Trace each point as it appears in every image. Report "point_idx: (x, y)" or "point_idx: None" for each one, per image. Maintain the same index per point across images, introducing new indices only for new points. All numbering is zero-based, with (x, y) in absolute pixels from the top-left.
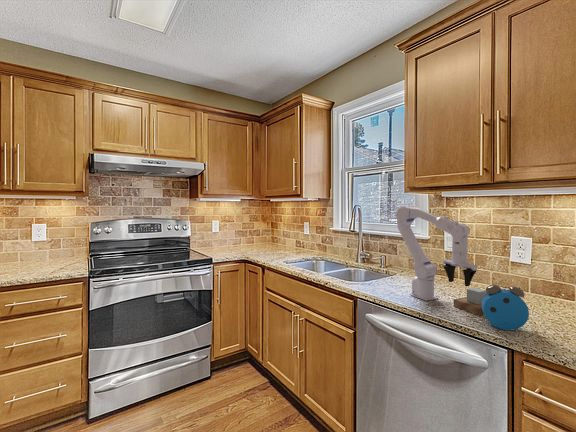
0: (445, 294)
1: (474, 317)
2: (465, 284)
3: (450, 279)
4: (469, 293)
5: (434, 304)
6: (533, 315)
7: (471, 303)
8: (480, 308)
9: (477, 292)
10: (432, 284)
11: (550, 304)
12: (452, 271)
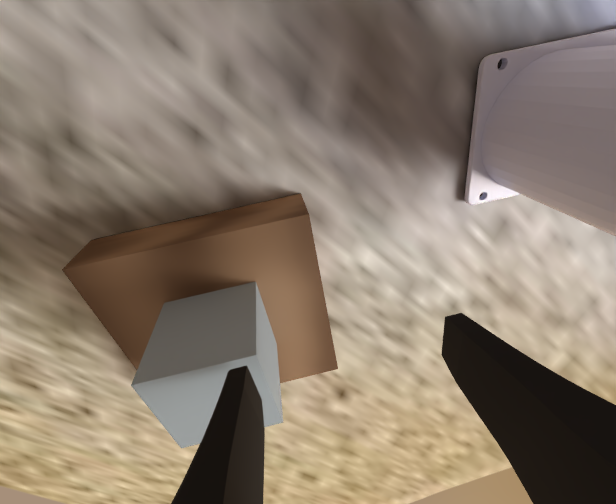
0: (493, 293)
1: (44, 170)
2: (232, 383)
3: (464, 344)
4: (229, 333)
5: (384, 68)
6: (116, 444)
7: (186, 274)
8: (69, 265)
9: (142, 378)
10: (590, 177)
11: None
12: (547, 486)
